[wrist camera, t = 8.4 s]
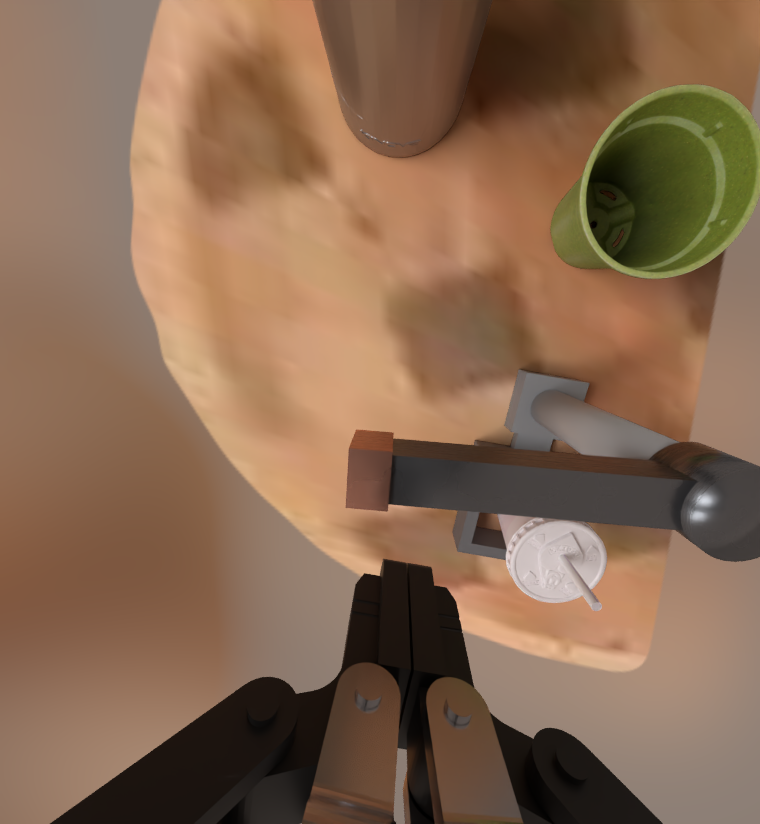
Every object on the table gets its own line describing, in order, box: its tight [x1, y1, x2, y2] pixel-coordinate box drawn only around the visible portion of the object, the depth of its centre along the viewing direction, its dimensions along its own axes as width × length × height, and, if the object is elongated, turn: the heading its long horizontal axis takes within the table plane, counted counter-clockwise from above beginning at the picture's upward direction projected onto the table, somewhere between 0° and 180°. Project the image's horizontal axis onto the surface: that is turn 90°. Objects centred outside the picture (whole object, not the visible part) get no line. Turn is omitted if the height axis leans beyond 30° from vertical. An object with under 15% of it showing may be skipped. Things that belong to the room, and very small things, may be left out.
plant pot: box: [550, 84, 760, 279], centre depth 24 cm, size 9×9×9 cm
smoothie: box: [497, 514, 607, 611], centre depth 27 cm, size 6×6×14 cm
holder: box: [453, 369, 680, 560], centre depth 25 cm, size 16×9×16 cm, turn 171°
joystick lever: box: [346, 430, 760, 562], centre depth 14 cm, size 16×4×3 cm, turn 86°
